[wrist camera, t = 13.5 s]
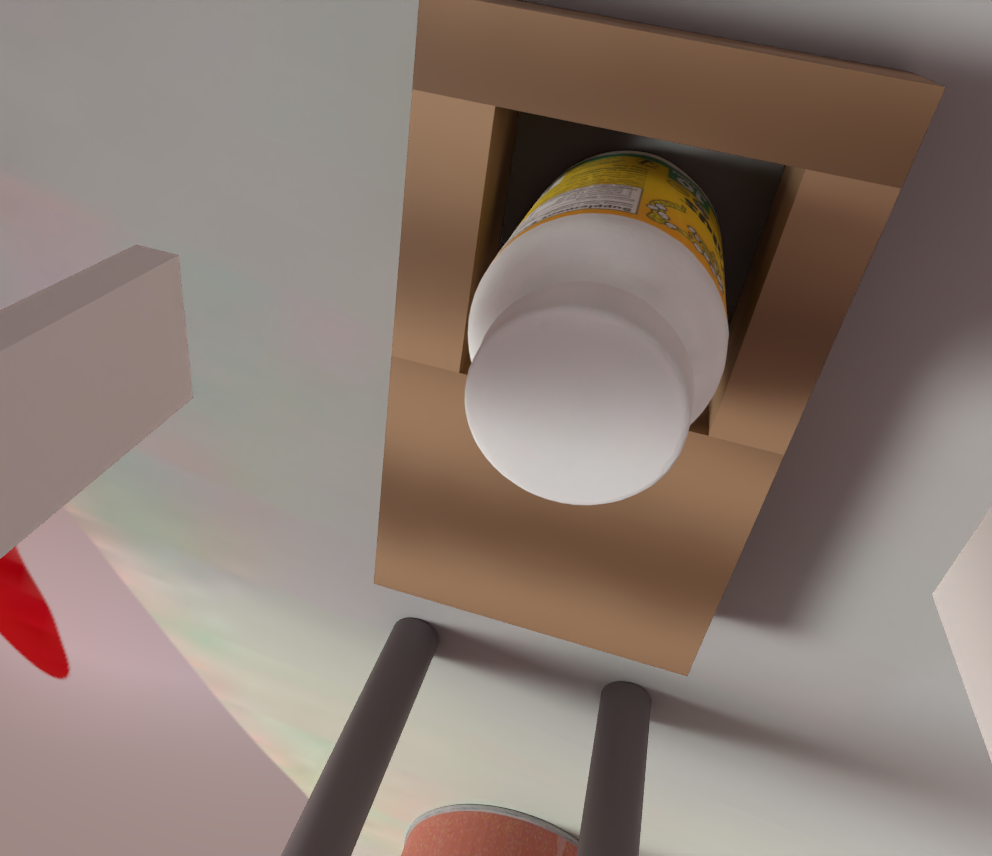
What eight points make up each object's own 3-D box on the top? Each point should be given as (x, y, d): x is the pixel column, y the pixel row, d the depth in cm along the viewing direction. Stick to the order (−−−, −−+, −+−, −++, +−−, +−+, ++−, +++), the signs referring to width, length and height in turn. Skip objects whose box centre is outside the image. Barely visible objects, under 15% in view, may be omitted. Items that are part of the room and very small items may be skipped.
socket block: (458, -11, 19) (420, -10, 16) (911, 72, 17) (945, 87, 15) (403, 530, 28) (374, 583, 26) (689, 611, 27) (686, 676, 24)
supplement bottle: (513, 167, 20) (388, 285, 12) (714, 128, 19) (720, 236, 11) (548, 345, 23) (463, 539, 15) (729, 325, 21) (744, 532, 13)
